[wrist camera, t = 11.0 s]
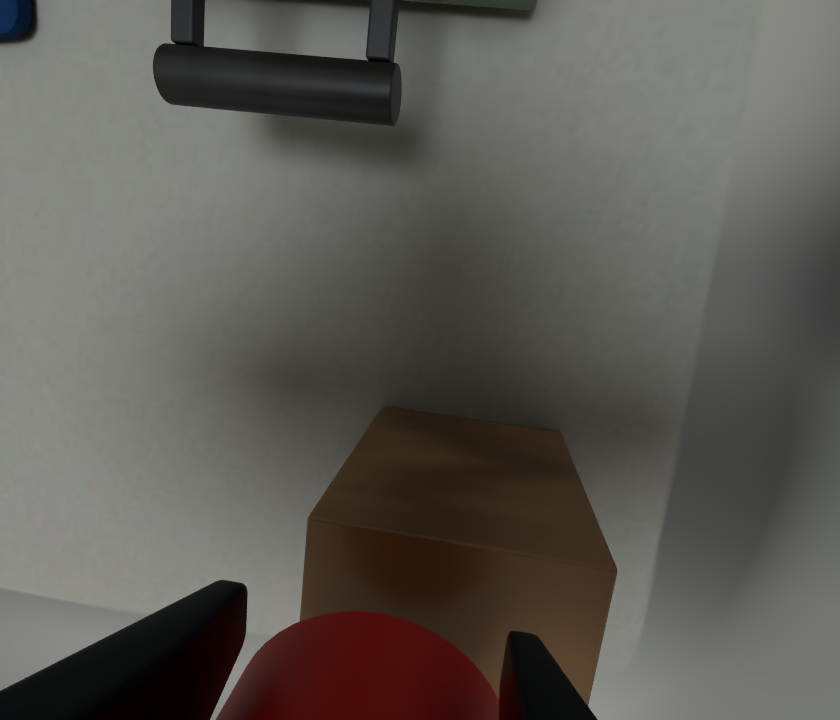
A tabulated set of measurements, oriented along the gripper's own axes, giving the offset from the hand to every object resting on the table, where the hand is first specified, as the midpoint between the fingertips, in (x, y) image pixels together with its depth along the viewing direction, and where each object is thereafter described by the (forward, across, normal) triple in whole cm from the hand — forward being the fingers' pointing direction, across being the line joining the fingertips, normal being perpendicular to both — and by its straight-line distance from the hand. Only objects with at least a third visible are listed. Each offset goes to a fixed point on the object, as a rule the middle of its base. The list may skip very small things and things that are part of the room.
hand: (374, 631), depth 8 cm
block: (+13, -1, +4) cm, 14 cm away
